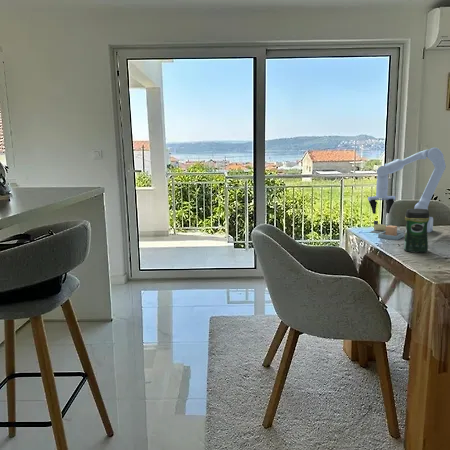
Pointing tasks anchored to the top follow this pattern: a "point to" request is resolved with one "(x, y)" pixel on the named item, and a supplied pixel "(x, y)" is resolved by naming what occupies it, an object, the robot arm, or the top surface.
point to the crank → (380, 226)
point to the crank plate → (383, 231)
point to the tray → (399, 236)
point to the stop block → (391, 230)
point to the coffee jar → (416, 230)
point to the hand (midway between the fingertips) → (380, 213)
